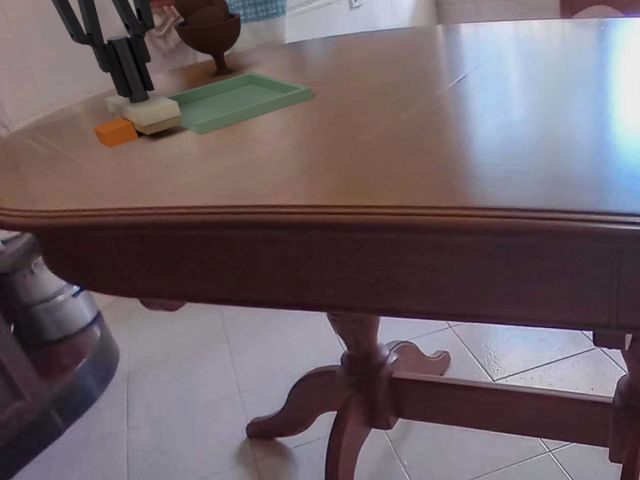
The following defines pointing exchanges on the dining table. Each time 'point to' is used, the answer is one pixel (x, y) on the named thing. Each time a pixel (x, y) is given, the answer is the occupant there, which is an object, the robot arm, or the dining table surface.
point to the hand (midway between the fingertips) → (136, 92)
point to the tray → (236, 101)
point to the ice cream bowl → (208, 29)
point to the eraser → (116, 132)
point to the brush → (140, 96)
